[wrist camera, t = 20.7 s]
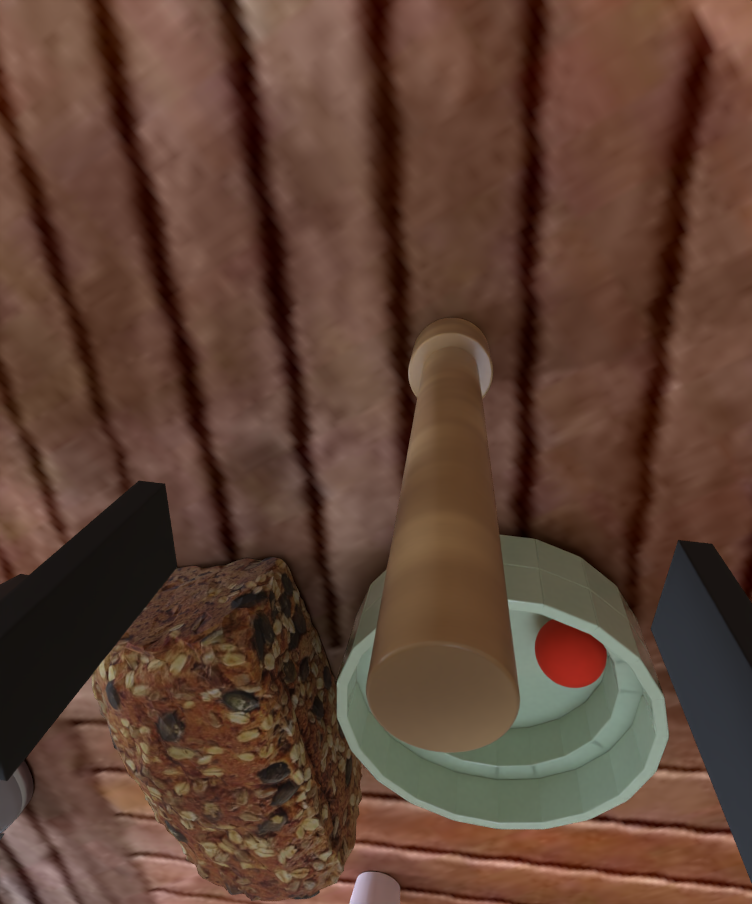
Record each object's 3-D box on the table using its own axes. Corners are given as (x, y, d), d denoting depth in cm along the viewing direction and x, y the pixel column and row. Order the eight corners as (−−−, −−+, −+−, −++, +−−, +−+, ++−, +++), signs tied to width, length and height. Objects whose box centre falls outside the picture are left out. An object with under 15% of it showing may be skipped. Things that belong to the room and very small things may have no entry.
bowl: (357, 712, 38) (336, 798, 33) (361, 509, 31) (335, 576, 26) (604, 755, 36) (625, 854, 31) (669, 545, 29) (711, 627, 24)
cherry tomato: (627, 629, 29) (566, 592, 31) (587, 662, 27) (525, 620, 29) (612, 680, 30) (556, 642, 33) (574, 715, 28) (516, 671, 31)
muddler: (400, 372, 27) (295, 726, 9) (433, 304, 26) (383, 573, 8) (466, 403, 28) (487, 806, 10) (503, 337, 26) (611, 673, 8)
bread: (374, 760, 40) (342, 924, 31) (240, 762, 43) (176, 913, 34) (296, 543, 33) (227, 675, 24) (143, 561, 36) (29, 685, 27)
